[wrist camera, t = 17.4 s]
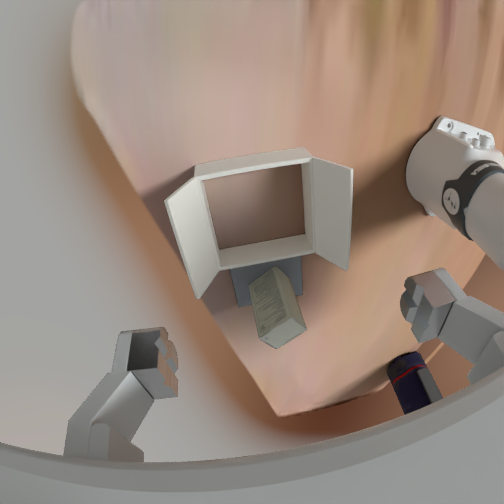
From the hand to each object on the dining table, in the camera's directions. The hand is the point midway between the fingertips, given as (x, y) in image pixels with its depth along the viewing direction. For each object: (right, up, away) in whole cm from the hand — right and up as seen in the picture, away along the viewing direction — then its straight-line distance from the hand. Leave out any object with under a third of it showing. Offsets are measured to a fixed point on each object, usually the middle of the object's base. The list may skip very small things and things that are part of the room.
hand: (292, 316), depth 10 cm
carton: (0, +9, +36) cm, 37 cm away
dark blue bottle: (+45, -30, +72) cm, 90 cm away
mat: (+1, -3, +45) cm, 45 cm away
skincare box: (+2, -3, +44) cm, 44 cm away
